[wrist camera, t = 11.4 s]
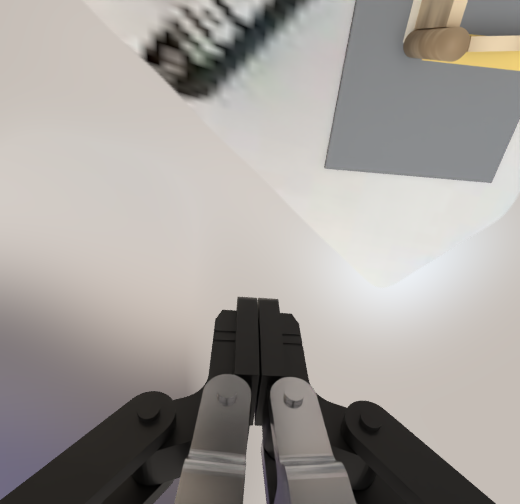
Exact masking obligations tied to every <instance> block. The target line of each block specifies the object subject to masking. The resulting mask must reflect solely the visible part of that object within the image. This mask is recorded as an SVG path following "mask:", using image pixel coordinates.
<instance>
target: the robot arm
mask: <svg viewBox="0 0 520 504" xmlns="http://www.w3.org/2000/svg"><path fill="white" fill-rule="evenodd" d="M254 412H255V425H257V426H258V425H260V426H262V429H263V430H262V432H263V440H262V447H261V455H262V465H263V474H264V484H265V494H266V503H267V504H495V503H494V502H493V501H492V500H491V499H490V498H488V497H487V496H486V495H485V494H484V493H482V492H481V491H480V490H479V489H478V488H477V487H475V486H474V485H473V484H472V483H471V482H469V481H468V480H467V479H466V478H465V477H464V476H462V475H461V474H460V473H459V472H458V471H456V470H455V469H454V468H453V467H452V466H451V465H449V464H448V463H447V462H446V461H445V460H443V459H442V458H441V457H440V456H439V455H438V454H436V453H435V452H434V451H433V450H432V449H430V448H429V447H428V446H427V445H425V444H424V443H423V442H422V441H421V440H420V439H419V438H417V437H416V436H415V435H414V434H413V433H412V432H410V431H409V430H408V429H407V428H406V427H404V426H403V425H402V424H401V423H400V422H398V421H397V420H396V419H395V418H394V417H393V416H391V415H390V414H389V413H388V412H387V411H385V410H384V409H383V408H382V407H380V406H379V405H377V404H375V403H372V402H369V401H356V402H354V403H352V404H350V406H348V408H346V407H343V406H340V405H337V404H333V403H331V402H329V401H326V400H325V399H323V398H321V397H320V396H319V395H317V393H316V392H315V391H314V389H313V388H312V386H311V385H310V383H309V380H308V374H307V368H306V363H305V357H304V351H303V346H302V339H301V334H300V328H299V323H298V322H297V321H296V320H295V318H294V317H293V315H292V314H286V313H280V311H279V302H278V299H267V298H258V304H257V298H248V297H238V299H237V311H232V310H222V311H221V313H220V314H219V315H218V317H217V318H216V320H215V329H214V336H213V344H212V352H211V361H210V369H209V376H208V380H207V382H206V383H205V385H204V386H203V388H201V389H200V390H199V391H198V392H196V393H195V394H193V395H190V396H187V397H184V398H180V399H176V400H172V399H171V398H170V397H169V396H168V395H166V394H164V393H162V392H156V391H151V392H145V393H142V394H140V395H138V396H136V397H134V398H133V399H132V400H130V401H129V402H128V403H126V404H125V405H124V406H122V407H121V408H120V409H118V410H117V411H116V412H115V413H113V414H112V415H111V416H109V417H108V418H107V419H105V420H104V421H103V422H102V423H100V424H99V425H98V426H97V427H95V428H94V429H93V430H91V431H90V432H89V433H87V434H86V435H85V436H83V437H82V438H81V439H80V440H78V441H77V442H76V443H74V444H73V445H72V446H71V447H69V448H68V449H66V450H65V451H64V452H63V453H61V454H60V455H59V456H57V457H56V458H55V459H53V460H52V461H51V462H49V463H48V464H47V465H46V466H44V467H43V468H42V469H40V470H39V471H38V472H37V473H35V474H34V475H33V476H31V477H30V478H29V479H27V480H26V481H25V482H23V483H22V484H21V485H20V486H18V487H17V488H16V489H15V490H13V491H12V492H10V493H9V494H8V495H6V496H5V497H4V498H3V499H1V500H0V504H153V503H154V502H155V501H156V500H157V499H158V498H159V497H160V496H161V495H162V494H163V493H164V492H165V491H166V490H167V488H168V487H169V486H170V485H171V484H172V483H173V481H174V479H176V478H179V477H180V481H179V485H178V490H177V494H176V499H175V503H174V504H243V494H244V482H245V469H246V463H245V462H246V449H247V441H248V434H249V426H250V425H253V419H254Z"/></svg>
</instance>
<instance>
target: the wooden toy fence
mask: <svg viewBox="0 0 520 504" xmlns="http://www.w3.org/2000/svg"><path fill="white" fill-rule="evenodd" d="M467 2H468V0H422V2H421V5H420V9H419V13H418V17H417V20H416V24H415V28H414V29H418V30H414V31H412V32H411V33H409V34H408V36H407V37H406V39H405V41H404V44H403V50H404V53H405V54H406V55H407V56H408V57H410V58H418V59H428V60H438V61H447V62H453V61H456V60H458V59H460V58H461V57H462V56H463V55H464V54H465V53H466V51H467V49H468V47H469V44H470V36H469V33H468V31H467V30H466V29H464V28H462V27H460V24H461V20H462V17H463V14H464V11H465V8H466V5H467Z"/></svg>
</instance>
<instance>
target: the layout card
mask: <svg viewBox="0 0 520 504" xmlns="http://www.w3.org/2000/svg"><path fill="white" fill-rule="evenodd" d="M421 2H422V0H356V4H355V9H354V14H353V20H352V25H351V30H350V35H349V41H348V46H347V51H346V57H345V62H344V67H343V72H342V78H341V83H340V88H339V94H338V99H337V104H336V109H335V115H334V120H333V125H332V130H331V136H330V141H329V146H328V152H327V157H326V162H325V169H337V170H348V171H360V172H371V173H383V174H395V175H406V176H418V177H429V178H441V179H452V180H464V181H475V182H487V183H492V181H493V178H494V176H495V174H496V171H497V169H498V167H499V165H500V162H501V160H502V158H503V156H504V153H505V151H506V149H507V146H508V144H509V142H510V140H511V137H512V135H513V133H514V130H515V128H516V126H517V124H518V121H519V119H520V51H487V52H466V53H465V54H464V55H463V56H462V57H461V58H460V59H458V60H456V61H453V62H447V61H438V60H428V59H418V58H410V57H408V56H407V55H406V54H405V53H404V50H403V44H404V41H405V39H406V37H407V36H408V34H409V33H411V32H412V31H414V30H418V29H414V28H415V24H416V20H417V17H418V13H419V9H420V5H421ZM460 27H462V28H464V29H466V30H467V31H468V33H469V36H519V35H520V0H468V2H467V5H466V8H465V11H464V14H463V17H462V20H461V24H460Z"/></svg>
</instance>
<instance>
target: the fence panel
mask: <svg viewBox="0 0 520 504" xmlns="http://www.w3.org/2000/svg"><path fill="white" fill-rule="evenodd" d="M487 51H520V35H519V36H470V44H469V47H468V49H467V51H466V52H487Z"/></svg>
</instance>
